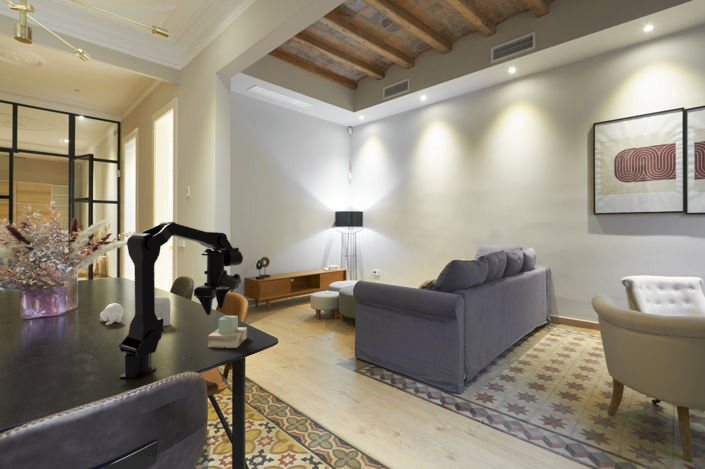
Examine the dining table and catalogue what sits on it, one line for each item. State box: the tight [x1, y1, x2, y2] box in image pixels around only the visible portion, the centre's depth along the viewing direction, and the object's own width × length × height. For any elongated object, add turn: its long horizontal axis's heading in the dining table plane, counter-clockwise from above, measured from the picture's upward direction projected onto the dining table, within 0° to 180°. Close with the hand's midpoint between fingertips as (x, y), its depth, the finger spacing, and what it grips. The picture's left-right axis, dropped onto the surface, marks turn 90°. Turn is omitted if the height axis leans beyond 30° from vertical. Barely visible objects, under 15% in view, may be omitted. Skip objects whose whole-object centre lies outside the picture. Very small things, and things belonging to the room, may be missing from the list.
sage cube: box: [217, 315, 239, 334], centre depth 118 cm, size 5×5×5 cm
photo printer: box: [155, 295, 171, 327], centre depth 136 cm, size 10×4×12 cm, turn 123°
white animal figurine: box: [99, 302, 125, 326], centre depth 141 cm, size 6×8×12 cm
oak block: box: [207, 326, 248, 349], centre depth 119 cm, size 10×10×4 cm
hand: (215, 311), depth 117 cm, fingers open, 9 cm apart
